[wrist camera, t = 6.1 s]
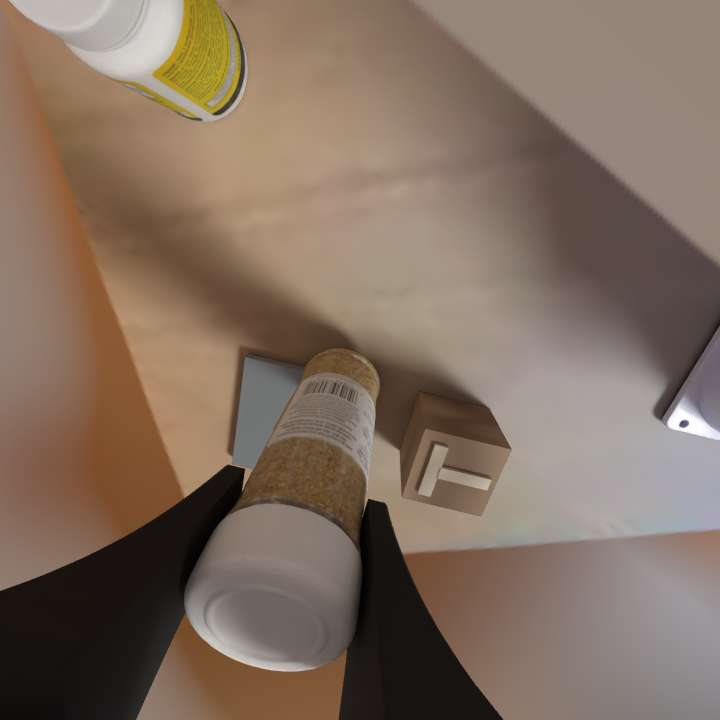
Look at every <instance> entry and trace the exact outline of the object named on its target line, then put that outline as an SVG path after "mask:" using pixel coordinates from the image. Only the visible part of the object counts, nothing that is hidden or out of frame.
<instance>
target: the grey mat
mask: <svg viewBox="0 0 720 720" xmlns="http://www.w3.org/2000/svg"><path fill="white" fill-rule="evenodd" d="M304 371H305V367H301V366H297V365H293V364H289V363H285V362H280V361H276V360H272V359H268V358H264V357H260V356H256V355H252V354H248V355H247V356H246V357H245V362H244V370H243V378H242V386H241V394H240V402H239V411H238V419H237V427H236V435H235V443H234V451H233V459H232V464H234V465H238V466H242V467H246V468H251V469H254V468H255V466H256V463H257V461H258V459H259V457H260V456H261V454H262V452H263V450H264V447H265V446H266V444H267V442H268V440H269V439H270V437H271V433H272V430H273V428H274V426H275V425H276V423H277V421H278V419H279V417H280V415H281V413H282V412H283V410H284V408H285V406H286V404H287V403H288V401H289V399H290V398H291V396H293V394H294V393H295V391H296V389H297V387H298V385H299V383H300V381H301V379H302V378H303V373H304Z"/></svg>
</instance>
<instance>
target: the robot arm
mask: <svg viewBox="0 0 720 720" xmlns="http://www.w3.org/2000/svg"><path fill="white" fill-rule="evenodd" d="M683 420H684V421H683ZM681 421H683V422H682V423H681V424H679V423H680V422H681ZM662 422H663V424H664V425H665V426H667V427H668V428H670V429H674V430H678V431H682V432H686V433H690V434H694V435H698V436H702V437H707V438H711V439H715V440H719V441H720V326H719V328H718V329H717V331H716V333H715V334H714V336H713V337H712V339H711V341H710V342H709V344H708V345H707V347H706V349H705V350H704V352H703V354H702V355H701V357H700V358H699V360H698V362H697V363H696V365H695V367H694V368H693V370H692V371H691V373H690V375H689V376H688V378H687V380H686V381H685V383H684V384H683V386H682V388H681V389H680V391H679V392H678V394H677V396H676V397H675V399H674V401H673V402H672V404H671V405H670V407H669V409H668V410H667V412H666V414H665V415H664V417H663V419H662ZM244 473H245V469H244V468H240V467H236V466H231V465H227V466H225V467H224V468H223V469H221V470H220V471H219V472H218V473H217V474H215V475H214V476H213V477H212V478H210V479H209V480H208V481H207V482H205V483H204V484H203V485H202V486H200V487H199V488H198V489H196V490H195V491H194V492H192V493H191V494H190V495H188V496H187V497H186V498H184V499H183V500H182V501H180V502H179V503H178V504H176V505H175V506H173V507H172V508H170V509H169V510H167V511H166V512H164V513H163V514H161V515H160V516H158V517H157V518H155V519H153V520H152V521H150V522H149V523H147V524H145V525H144V526H142V527H140V528H139V529H137V530H136V531H134V532H132V533H130V534H129V535H127V536H125V537H123V538H121V539H119V540H117V541H116V542H114V543H112V544H110V545H108V546H106V547H104V548H102V549H101V550H98V551H96V552H94V553H92V554H90V555H88V556H86V557H84V558H82V559H80V560H77V561H75V562H73V563H70V564H68V565H66V566H64V567H61V568H59V569H57V570H54V571H52V572H50V573H47V574H45V575H43V576H40V577H37V578H35V579H32V580H29V581H27V582H24V583H21V584H19V585H16V586H13V587H10V588H7V589H5V590H2V591H0V720H136V719H137V716H138V714H139V712H140V710H141V707H142V705H143V703H144V701H145V698H146V696H147V694H148V692H149V689H150V687H151V685H152V683H153V681H154V678H155V676H156V674H157V672H158V670H159V668H160V665H161V663H162V661H163V659H164V656H165V654H166V652H167V650H168V648H169V646H170V644H171V642H172V639H173V637H174V635H175V633H176V631H177V629H178V627H179V624H180V622H181V620H182V618H183V616H184V615H185V613H186V611H185V606H184V591H185V588H186V584H187V582H188V579H189V577H190V575H191V573H192V571H193V569H194V567H195V565H196V563H197V561H198V559H199V557H200V555H201V553H202V552H203V550H204V548H205V546H206V544H207V542H208V540H209V539H210V537H211V535H212V533H213V531H214V530H215V528H216V527H217V526H218V525H219V523H220V522H221V521H222V520H223V519H224V518H225V516H226V515H227V514H228V513H229V512H230V511H231V510H232V509H233V507H234V506H235V504H236V502H237V500H238V499H239V498H240V495H241V493H242V487H243V480H244ZM360 549H361V562H362V570H363V575H362V587H361V596H360V605H359V613H358V620H357V627H356V632H355V635H354V638H353V640H352V642H351V644H350V645H349V647H348V648H347V657H346V666H345V675H344V682H343V690H342V698H341V706H340V714H339V720H503V719H502V717H501V716H500V715H499V714H498V712H497V711H496V710H495V709H494V707H493V706H492V705H491V704H490V702H489V701H488V700H487V699H486V697H485V696H484V695H483V693H482V692H481V691H480V690H479V688H478V687H477V686H476V685H475V683H474V682H473V681H472V679H471V678H470V676H469V675H468V674H467V672H466V671H465V669H464V668H463V667H462V665H461V664H460V662H459V661H458V659H457V657H456V656H455V654H454V653H453V652H452V650H451V648H450V647H449V645H448V643H447V642H446V640H445V639H444V637H443V636H442V634H441V633H440V631H439V629H438V628H437V626H436V624H435V622H434V620H433V619H432V617H431V615H430V613H429V612H428V609H427V608H426V606H425V604H424V602H423V600H422V598H421V596H420V594H419V592H418V590H417V588H416V586H415V584H414V581H413V579H412V577H411V574H410V572H409V570H408V567H407V565H406V563H405V560H404V558H403V555H402V552H401V550H400V547H399V544H398V541H397V539H396V536H395V533H394V529H393V526H392V523H391V520H390V516H389V512H388V508H387V505H386V504H385V503H383V502H379V501H375V500H371V499H368V501H367V505H366V508H365V511H364V514H363V517H362V528H361V536H360Z"/></svg>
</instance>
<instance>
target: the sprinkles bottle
mask: <svg viewBox="0 0 720 720" xmlns="http://www.w3.org/2000/svg"><path fill="white" fill-rule="evenodd" d="M379 389H380V381H379V376H378V374H377V371H376V369H375V368H374V366H373V365H372V363H371V362H370V361H368V359H367V358H365V357H364V356H363V355H361V354H359V353H357V352H355V351H352V350H347V349H343V348H337V349H328V350H326V351H323V352H321V353H319V354H317V355H316V356H315V357H314V358H312V359H311V360H310V361H309V362H308V364H307V366H306V368H305V371H304V373H303V378H302V379H301V381H300V383H299V385H298V387H297V389H296V391H295V393H294V394H293V396H291V398H290V399H289V401H288V403H287V404H286V406H285V408H284V410H283V412H282V413H281V415H280V417H279V419H278V421H277V423H276V425H275V426H274V428H273V430H272V433H271V437H270V439H269V440H268V442H267V444H266V446H265V447H264V450H263V452H262V454H261V456H260V457H259V459H258V461H257V463H256V466H255V468H254V470H253V471H252V473H251V475H250V477H249V479H248V481H247V482H246V484H245V487H244V489H243V491H242V493H241V495H240V498H239V499H238V500H237V502H236V504H235V506H234V507H233V509H232V510H231V511H230V512H229V513H228V514H227V515H226V516H225V518H224V519H223V520H222V521H221V522H220V523H219V525H218V526H217V527H216V528H215V530H214V531H213V533H212V535H211V537H210V539H209V540H208V542H207V544H206V546H205V548H204V550H203V552H202V553H201V555H200V557H199V559H198V561H197V563H196V565H195V567H194V569H193V571H192V573H191V575H190V577H189V579H188V582H187V584H186V588H185V591H184V606H185V611H186V614H187V617H188V619H189V621H190V622H191V624H192V626H193V627H194V629H195V630H196V631H197V633H198V634H199V635H200V636H201V637H202V638H203V639H204V640H205V641H206V642H207V643H209V644H210V645H211V646H212V647H214V648H215V649H217V650H218V651H220V652H221V653H223V654H225V655H227V656H228V657H231V658H233V659H235V660H237V661H239V662H242V663H245V664H248V665H251V666H255V667H259V668H263V669H268V670H276V671H302V670H310V669H314V668H318V667H320V666H323V665H326V664H328V663H330V662H332V661H334V660H335V659H337V658H338V657H340V656H341V655H342V654H343V653H344V652H345V651H346V649H347V648H348V647H349V645H350V644H351V642H352V640H353V638H354V635H355V632H356V627H357V620H358V613H359V605H360V596H361V587H362V575H363V570H362V562H361V549H360V536H361V528H362V515H363V513H364V503H365V499H366V495H367V490H368V480H369V470H370V461H371V452H372V444H373V435H374V425H375V406H376V399H377V397H378V394H379Z"/></svg>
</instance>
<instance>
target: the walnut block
mask: <svg viewBox="0 0 720 720" xmlns="http://www.w3.org/2000/svg"><path fill="white" fill-rule="evenodd" d="M511 450H512V449H511V447H510V446H509V444H508V442H507V440H506V438H505V436H504V435H503V433H502V431H501V429H500V427H499V425H498V423H497V422H496V420H495V418H494V416H493V414H492V412H491V410H490V409H489V408H486V407H482V406H478V405H474V404H470V403H466V402H461V401H457V400H453V399H449V398H445V397H441V396H437V395H433V394H428V393H424V392H420V391H419V392H418V395H417V398H416V401H415V405H414V408H413V411H412V414H411V417H410V420H409V423H408V426H407V429H406V433H405V436H404V439H403V442H402V445H401V448H400V469H401V492H402V498H406V499H410V500H414V501H418V502H422V503H426V504H431V505H435V506H439V507H443V508H447V509H452V510H456V511H460V512H464V513H468V514H472V515H477V516H482V514H483V512H484V509H485V507H486V505H487V503H488V501H489V498H490V496H491V494H492V492H493V490H494V487H495V485H496V483H497V481H498V479H499V476H500V474H501V472H502V470H503V468H504V465H505V463H506V461H507V459H508V457H509V454H510V452H511Z"/></svg>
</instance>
